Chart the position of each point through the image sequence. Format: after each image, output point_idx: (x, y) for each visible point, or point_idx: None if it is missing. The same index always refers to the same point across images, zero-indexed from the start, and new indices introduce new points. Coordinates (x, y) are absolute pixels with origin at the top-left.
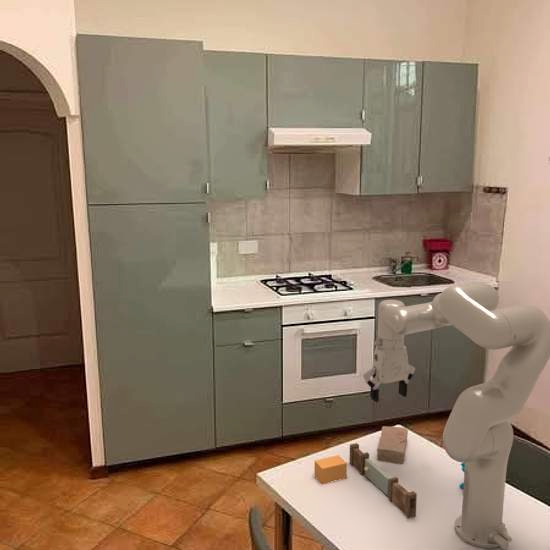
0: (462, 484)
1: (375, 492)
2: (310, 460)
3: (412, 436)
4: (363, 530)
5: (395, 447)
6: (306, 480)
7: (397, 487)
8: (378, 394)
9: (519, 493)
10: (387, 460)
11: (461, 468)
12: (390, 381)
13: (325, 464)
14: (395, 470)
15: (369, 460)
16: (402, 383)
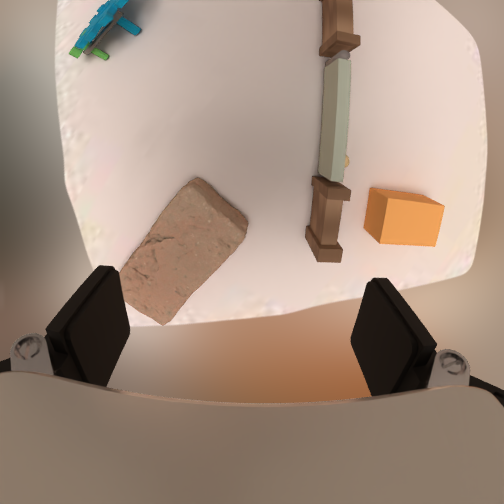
0: (133, 26)
1: None
2: None
3: None
4: (433, 30)
5: (193, 219)
6: None
7: (351, 19)
8: (396, 314)
9: (59, 2)
10: (228, 204)
11: (125, 3)
12: (355, 411)
13: (429, 219)
14: (235, 157)
15: (336, 168)
16: (80, 367)
